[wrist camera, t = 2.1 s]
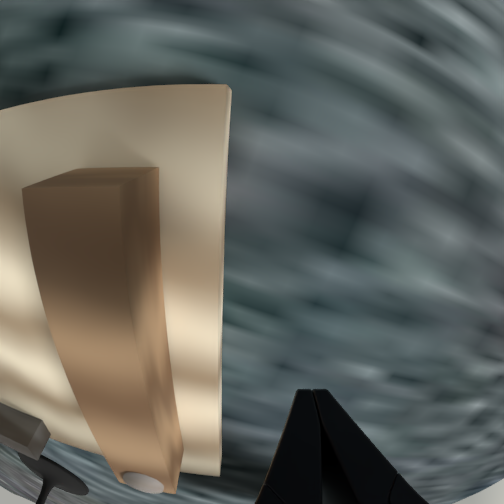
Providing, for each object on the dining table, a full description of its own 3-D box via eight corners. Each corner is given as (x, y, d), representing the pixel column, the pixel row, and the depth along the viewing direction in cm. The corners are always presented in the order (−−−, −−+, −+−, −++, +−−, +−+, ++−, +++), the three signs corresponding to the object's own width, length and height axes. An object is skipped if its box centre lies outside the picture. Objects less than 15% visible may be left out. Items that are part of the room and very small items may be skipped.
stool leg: (184, 450, 17) (175, 497, 14) (133, 441, 17) (119, 485, 14) (159, 166, 11) (116, 188, 7) (78, 168, 11) (17, 190, 7)
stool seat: (221, 455, 21) (216, 509, 16) (-12, 393, 21) (-35, 425, 16) (231, 90, 12) (215, 70, 7) (-83, 143, 12) (-130, 158, 7)
